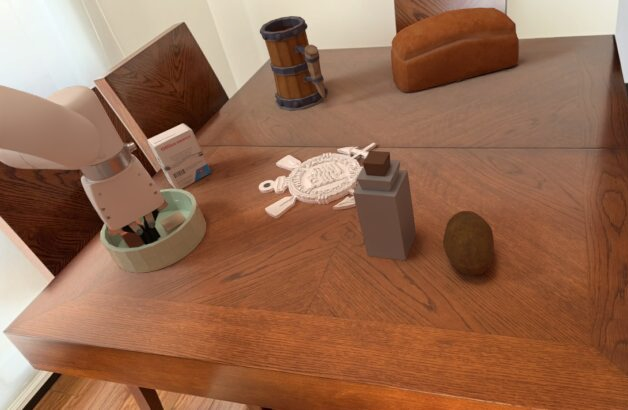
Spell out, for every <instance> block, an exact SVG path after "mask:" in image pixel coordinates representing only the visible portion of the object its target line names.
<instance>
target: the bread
mask: <svg viewBox="0 0 628 410" xmlns="http://www.w3.org/2000/svg"><path fill="white" fill-rule="evenodd" d="M519 59H520V41H519V37H518V33H517V24H516V22H515V21H513V19H511V17H509V16H508V15H507V14H506V13H504V12H503V11H502V10H500V9H498V8H496V7H470V8H457V9H453V10H445V11H444V12H441V13H437V14H434V15H431V16H429V17H426V18H423V19H421V20H419V21H416V22H414V23H412V24H410V25H408V26H406V27H404V28H402V29H401V30H400V31H398V32H397V33H396V34H395V35H394V37H393V38H392V41H391V49H390V63H391V72H392V73H391V74H392V79H393V82H394V84H395V86H396V87H397V88H398V90H400V91H402V92H403V93H411V92H416V91H420V90H425V89H428V88H433V87H437V86H441V85H445V84H448V83H453V82H457V81H460V80H465V79H468V78H472V77H477V76H481V75H484V74H489V73H492V72H496V71H499V70H504V69H508V68H511V67H515V66H517V65H518V63H519V61H520V60H519Z"/></svg>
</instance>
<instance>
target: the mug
mask: <svg viewBox="0 0 628 410" xmlns="http://www.w3.org/2000/svg"><path fill="white" fill-rule="evenodd" d="M307 30H308V24H307V23H306V20H305V19H304V18H303V17H301V16H297V15H288V16H282V17H278V18H275V19H272V20H271V19H270V20H269V21H267V22H265V23H264V24H262V26H261V27H260V29H259V34H260V35H261V38H262V40H264V42H265V46H266V49H267V52H268V56H269V60H270V68H271V71H272V74H273V78H274V83H275V89H276V93H275V94H274V97H275V98H276V99H275V102H274V103H275V104H276V106H277V107H278V109H280V110H285V111H289V112H292V111H301V110H302V111H303V110H306V109H309V108H312V107H314V106H317V105H319V104H320V103H322V102H323V101H325V100H327V97H328V93H329V90H328V88H326V86H325V84H324V81H325V78H324V76H323V74H322V70H321V69H322V68H321V63H320V53H319V49H318V47H317V46H315V45H314V44H310V43H309V39H308V35H307Z"/></svg>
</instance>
